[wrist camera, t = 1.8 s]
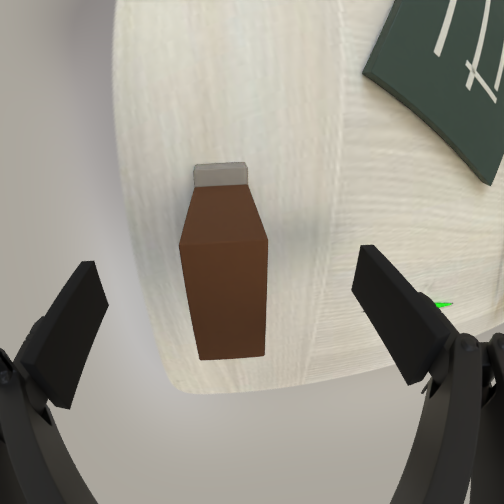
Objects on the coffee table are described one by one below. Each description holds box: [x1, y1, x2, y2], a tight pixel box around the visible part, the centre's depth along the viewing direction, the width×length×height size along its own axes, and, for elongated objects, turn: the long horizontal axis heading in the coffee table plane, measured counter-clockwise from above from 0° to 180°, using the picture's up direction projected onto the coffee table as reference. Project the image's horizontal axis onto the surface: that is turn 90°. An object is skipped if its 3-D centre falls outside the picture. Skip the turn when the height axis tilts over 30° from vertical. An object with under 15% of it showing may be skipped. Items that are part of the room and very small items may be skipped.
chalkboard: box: [363, 0, 504, 186], centre depth 10 cm, size 26×16×1 cm, turn 156°
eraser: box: [179, 162, 268, 360], centre depth 14 cm, size 8×3×8 cm, turn 0°
